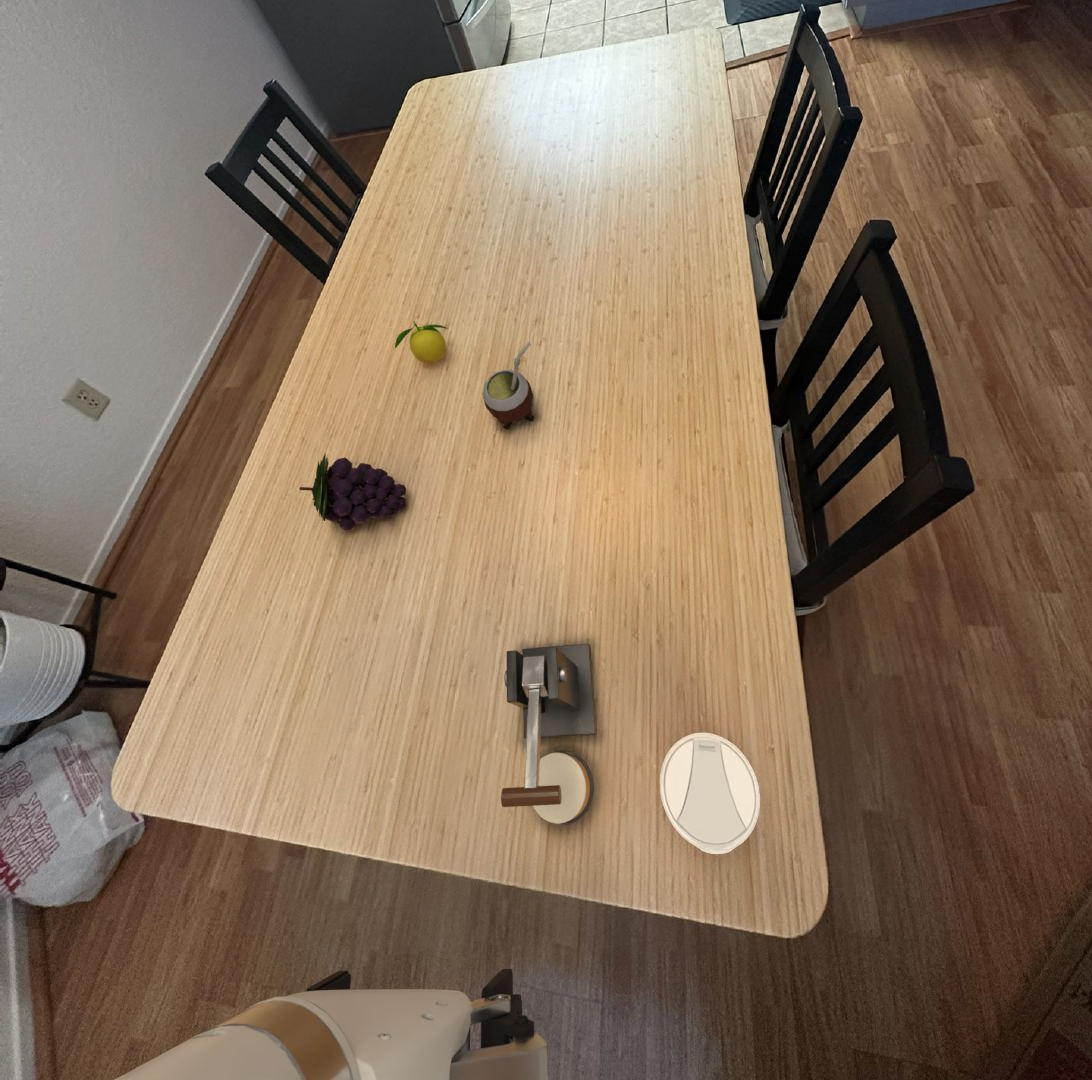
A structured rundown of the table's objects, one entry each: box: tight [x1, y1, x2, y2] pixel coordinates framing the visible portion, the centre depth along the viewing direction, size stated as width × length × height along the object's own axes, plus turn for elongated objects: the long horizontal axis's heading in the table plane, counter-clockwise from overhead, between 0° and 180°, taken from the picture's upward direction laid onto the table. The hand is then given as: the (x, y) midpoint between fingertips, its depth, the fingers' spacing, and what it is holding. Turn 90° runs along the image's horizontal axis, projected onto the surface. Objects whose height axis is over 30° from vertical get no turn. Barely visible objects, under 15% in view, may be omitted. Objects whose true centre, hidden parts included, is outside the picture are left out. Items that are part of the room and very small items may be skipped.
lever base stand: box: [503, 643, 598, 740], centre depth 65 cm, size 9×8×15 cm
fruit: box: [299, 452, 407, 532], centre depth 85 cm, size 10×11×15 cm
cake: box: [532, 750, 595, 825], centre depth 64 cm, size 6×6×4 cm
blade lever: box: [500, 656, 562, 808], centre depth 56 cm, size 12×5×2 cm, turn 3°
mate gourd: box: [482, 341, 535, 431], centre depth 86 cm, size 8×8×15 cm
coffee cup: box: [659, 732, 761, 855], centre depth 57 cm, size 8×8×15 cm
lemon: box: [394, 320, 449, 364], centre depth 97 cm, size 7×6×10 cm
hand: (423, 1008), depth 34 cm, fingers open, 9 cm apart
